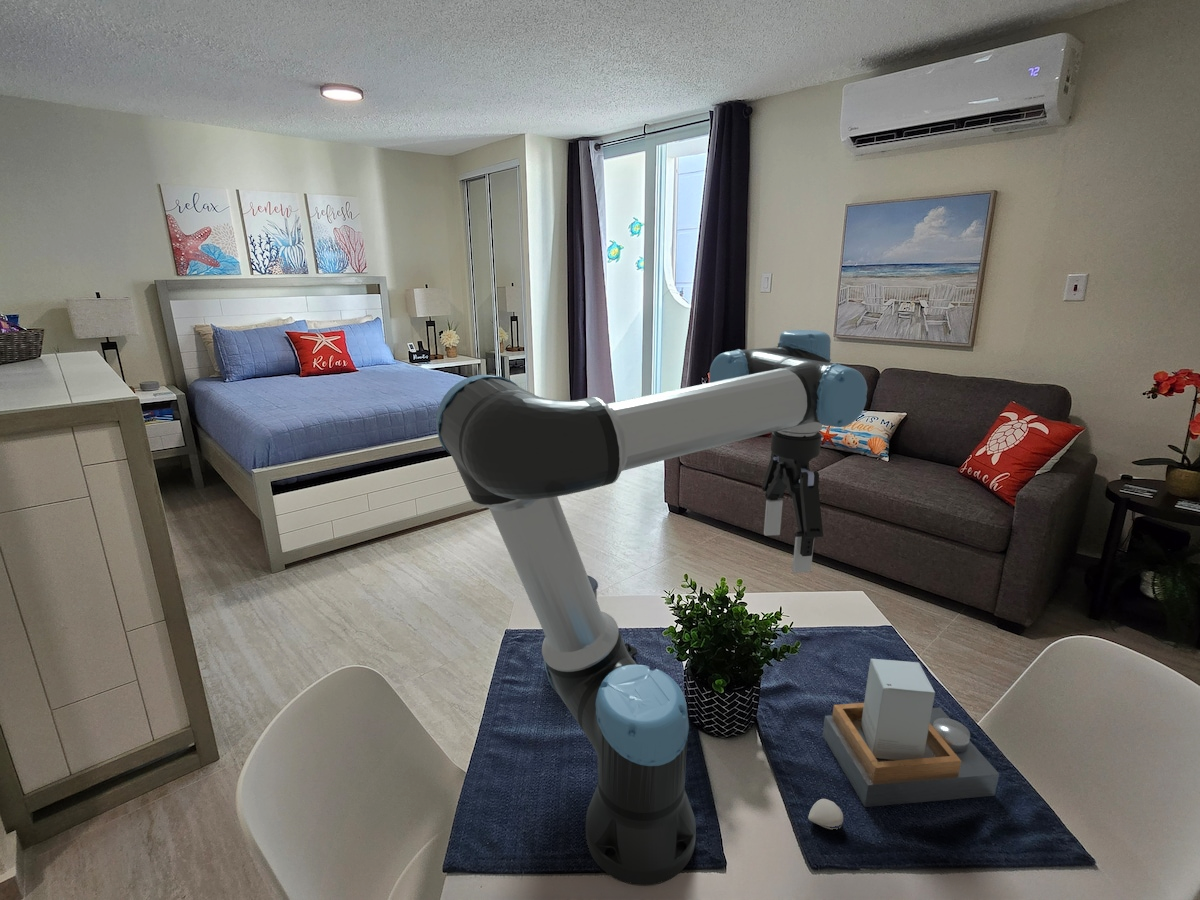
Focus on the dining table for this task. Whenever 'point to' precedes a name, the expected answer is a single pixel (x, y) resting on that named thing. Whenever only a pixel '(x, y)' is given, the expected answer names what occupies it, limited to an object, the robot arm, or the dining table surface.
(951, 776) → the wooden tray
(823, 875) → the dining table surface
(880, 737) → the supplement box
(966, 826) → the dining table surface
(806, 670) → the dining table surface
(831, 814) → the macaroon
